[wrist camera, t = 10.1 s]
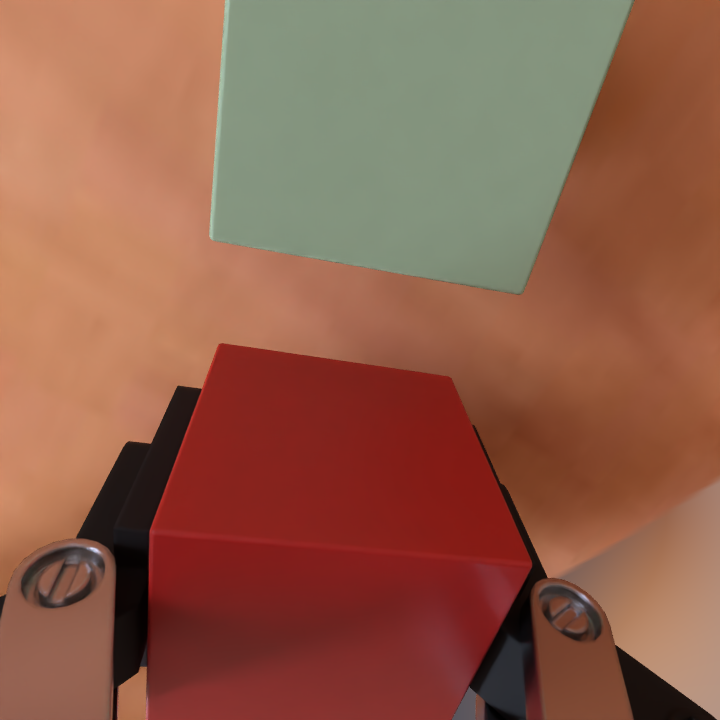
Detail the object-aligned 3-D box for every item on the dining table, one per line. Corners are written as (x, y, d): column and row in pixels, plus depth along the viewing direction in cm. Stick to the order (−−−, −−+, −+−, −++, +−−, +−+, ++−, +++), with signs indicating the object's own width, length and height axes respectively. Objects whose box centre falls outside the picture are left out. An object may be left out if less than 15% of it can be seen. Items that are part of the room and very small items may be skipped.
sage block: (275, -97, 10) (240, -237, 5) (524, -26, 10) (674, -97, 6) (248, 179, 12) (207, 241, 8) (453, 219, 13) (523, 297, 8)
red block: (218, 340, 10) (147, 531, 6) (451, 375, 11) (535, 565, 7) (203, 518, 13) (144, 748, 8) (397, 536, 14) (435, 754, 9)
